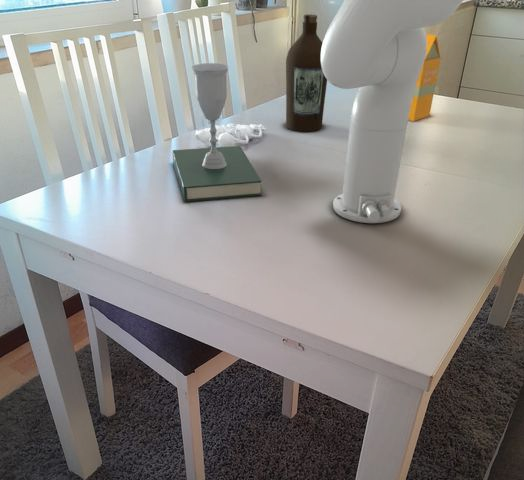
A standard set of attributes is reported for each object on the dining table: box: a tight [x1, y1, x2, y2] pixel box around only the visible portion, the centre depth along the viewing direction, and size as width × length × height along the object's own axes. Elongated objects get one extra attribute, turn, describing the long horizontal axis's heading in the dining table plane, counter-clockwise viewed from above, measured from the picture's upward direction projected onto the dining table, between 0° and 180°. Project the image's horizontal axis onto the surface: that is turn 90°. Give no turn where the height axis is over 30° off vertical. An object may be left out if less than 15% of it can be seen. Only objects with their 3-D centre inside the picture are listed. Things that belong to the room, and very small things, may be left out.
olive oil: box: [285, 13, 328, 133], centre depth 134 cm, size 11×11×25 cm
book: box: [171, 145, 262, 203], centre depth 112 cm, size 21×15×3 cm
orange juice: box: [408, 33, 442, 122], centre depth 145 cm, size 8×9×20 cm
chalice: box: [191, 62, 229, 169], centre depth 105 cm, size 7×7×18 cm
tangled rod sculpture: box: [194, 123, 267, 147], centre depth 131 cm, size 19×14×4 cm
